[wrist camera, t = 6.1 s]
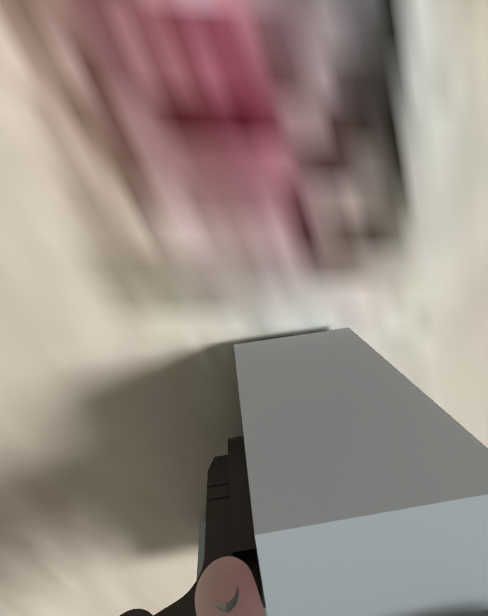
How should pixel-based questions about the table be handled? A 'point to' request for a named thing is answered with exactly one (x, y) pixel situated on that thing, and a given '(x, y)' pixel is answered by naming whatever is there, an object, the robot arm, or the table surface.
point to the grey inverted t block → (358, 485)
